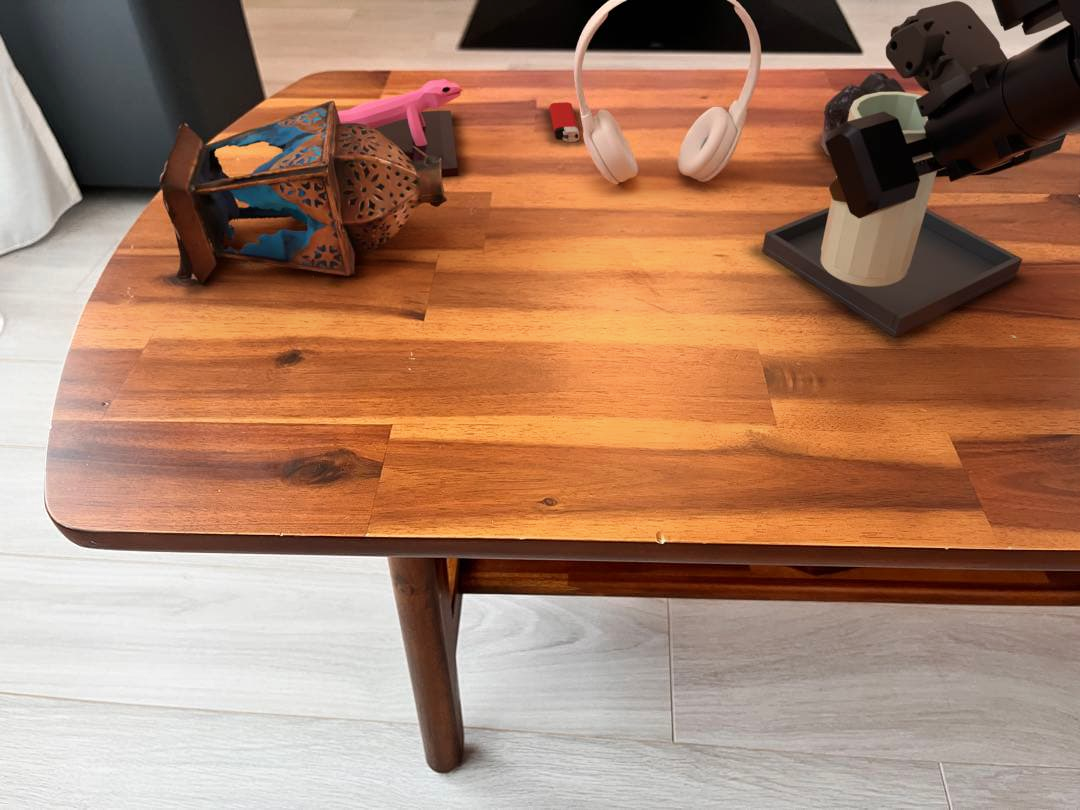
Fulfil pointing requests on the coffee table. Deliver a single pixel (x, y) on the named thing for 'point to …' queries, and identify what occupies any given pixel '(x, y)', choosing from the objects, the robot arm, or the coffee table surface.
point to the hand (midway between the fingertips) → (869, 182)
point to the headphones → (705, 139)
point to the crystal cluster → (843, 101)
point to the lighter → (564, 121)
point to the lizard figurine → (414, 122)
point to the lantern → (296, 193)
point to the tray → (927, 289)
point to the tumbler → (885, 237)
